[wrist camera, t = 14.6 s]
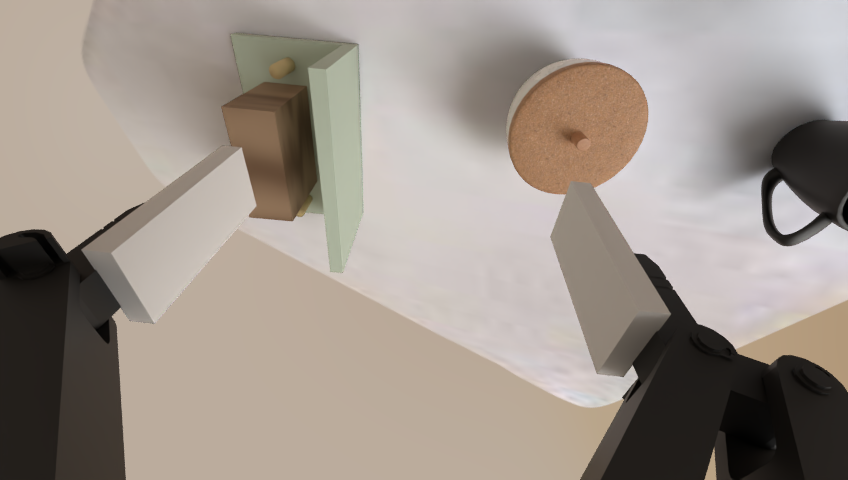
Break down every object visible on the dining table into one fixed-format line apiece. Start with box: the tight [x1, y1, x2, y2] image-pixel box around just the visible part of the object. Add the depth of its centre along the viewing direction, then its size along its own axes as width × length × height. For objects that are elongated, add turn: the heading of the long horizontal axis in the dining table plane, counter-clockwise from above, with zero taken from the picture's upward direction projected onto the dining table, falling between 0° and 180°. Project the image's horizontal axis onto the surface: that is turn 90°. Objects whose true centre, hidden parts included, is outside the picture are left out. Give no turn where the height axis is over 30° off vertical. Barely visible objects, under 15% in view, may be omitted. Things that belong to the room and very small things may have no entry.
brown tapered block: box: [221, 82, 317, 221], centre depth 33 cm, size 10×4×8 cm, turn 175°
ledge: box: [230, 33, 363, 273], centre depth 33 cm, size 18×11×11 cm, turn 175°
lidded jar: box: [506, 59, 648, 194], centre depth 31 cm, size 11×11×9 cm
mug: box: [761, 120, 848, 246], centre depth 33 cm, size 8×12×10 cm
